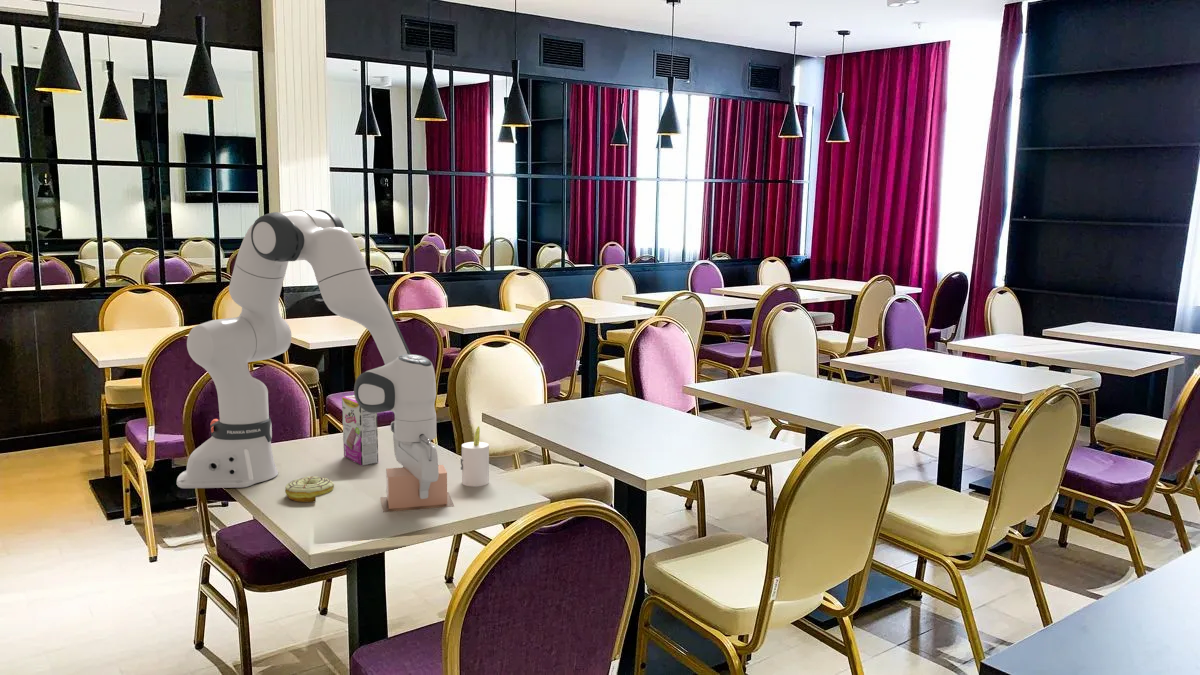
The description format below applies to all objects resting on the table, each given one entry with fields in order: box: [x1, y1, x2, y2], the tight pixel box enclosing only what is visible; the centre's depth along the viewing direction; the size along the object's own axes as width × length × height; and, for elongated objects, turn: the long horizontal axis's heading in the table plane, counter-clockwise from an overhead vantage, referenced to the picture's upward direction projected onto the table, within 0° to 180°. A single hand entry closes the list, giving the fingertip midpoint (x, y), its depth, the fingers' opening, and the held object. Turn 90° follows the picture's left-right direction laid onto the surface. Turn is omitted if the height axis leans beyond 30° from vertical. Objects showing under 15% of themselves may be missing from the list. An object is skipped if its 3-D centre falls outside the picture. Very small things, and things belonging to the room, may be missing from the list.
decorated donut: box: [284, 476, 335, 503], centre depth 202 cm, size 10×11×4 cm
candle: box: [460, 426, 490, 487], centre depth 208 cm, size 6×6×15 cm
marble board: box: [379, 491, 455, 513], centre depth 194 cm, size 15×10×4 cm, turn 107°
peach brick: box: [385, 464, 448, 509], centre depth 194 cm, size 12×7×7 cm, turn 107°
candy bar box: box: [341, 394, 379, 467], centre depth 230 cm, size 11×5×16 cm, turn 40°
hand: (416, 491), depth 194 cm, fingers open, 8 cm apart
